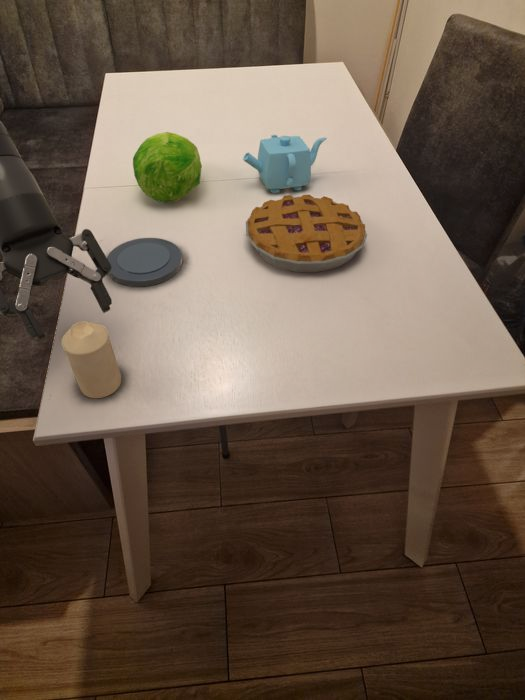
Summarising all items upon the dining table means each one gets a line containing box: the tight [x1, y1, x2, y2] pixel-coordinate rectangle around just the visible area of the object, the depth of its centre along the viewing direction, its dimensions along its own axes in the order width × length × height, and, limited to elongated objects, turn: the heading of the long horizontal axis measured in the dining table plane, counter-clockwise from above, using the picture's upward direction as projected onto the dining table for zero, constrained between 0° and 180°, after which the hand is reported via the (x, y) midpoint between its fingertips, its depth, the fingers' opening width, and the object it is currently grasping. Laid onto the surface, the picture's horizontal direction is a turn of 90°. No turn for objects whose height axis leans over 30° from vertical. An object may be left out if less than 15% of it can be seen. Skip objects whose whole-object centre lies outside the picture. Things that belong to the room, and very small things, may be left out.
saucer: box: [106, 237, 183, 288], centre depth 84 cm, size 13×13×1 cm
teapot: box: [242, 134, 328, 194], centre depth 103 cm, size 18×14×10 cm
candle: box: [61, 320, 122, 399], centre depth 62 cm, size 6×6×10 cm
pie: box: [245, 194, 368, 273], centre depth 88 cm, size 22×22×5 cm
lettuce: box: [132, 131, 203, 204], centre depth 100 cm, size 14×20×12 cm
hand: (75, 324), depth 61 cm, fingers open, 8 cm apart
